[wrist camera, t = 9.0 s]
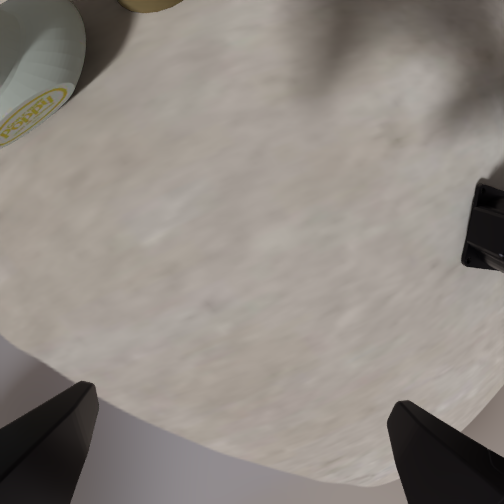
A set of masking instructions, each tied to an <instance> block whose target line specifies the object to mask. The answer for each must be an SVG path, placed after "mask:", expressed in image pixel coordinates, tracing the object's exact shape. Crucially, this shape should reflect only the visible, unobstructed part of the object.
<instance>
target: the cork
mask: <svg viewBox="0 0 504 504" xmlns="http://www.w3.org/2000/svg"><path fill="white" fill-rule="evenodd" d="M117 1H118V2H119V3H120V5H121V6H122V7H124V8H126V9H128V10H130V11H133V12H140V13H150V12H158V11H161V10H164V9H167V8H170V7H173V6H174V5H176V4H178V3H180V2H181V1H183V0H117Z"/></svg>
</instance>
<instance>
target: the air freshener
mask: <svg viewBox="0 0 504 504" xmlns="http://www.w3.org/2000/svg"><path fill="white" fill-rule="evenodd" d="M85 51H86V34H85V28H84V23H83V21H82V18H81V16H80V13H79V12H78V10H77V9H76V7H75V6H74V5H73V3H71V2H70V1H69V0H7V1H6V2H4V3H2V4H0V149H1V148H3V147H5V146H7V145H9V144H11V143H13V142H14V141H16V140H18V139H19V138H21V137H22V136H24V135H25V134H27V133H29V132H30V131H31V130H33V129H34V128H36V127H37V126H38V125H40V124H41V123H42V122H44V121H45V120H46V119H47V118H49V117H50V116H51V115H52V114H53V113H54V112H56V111H57V110H58V109H59V108H60V107H61V106H62V105H63V104H64V103H65V102H66V101H67V100H68V99H69V97H70V96H71V95H72V93H73V91H74V90H75V87H76V85H77V82H78V80H79V77H80V74H81V71H82V67H83V64H84V58H85Z"/></svg>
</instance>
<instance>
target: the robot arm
mask: <svg viewBox="0 0 504 504" xmlns="http://www.w3.org/2000/svg"><path fill="white" fill-rule="evenodd" d="M481 189H482V193H481ZM467 258H468V260H467ZM466 260H467V262H466ZM461 262H462V264H463V265H464V266H466V267H473V268H481V269H489V270H497V271H501V272H502V273H504V191H501V190H498V189H496V188H493V187H490V186H487V185H484V184H478V185H477V187H476V192H475V198H474V204H473V209H472V214H471V219H470V224H469V229H468V234H467V238H466V242H465V247H464V251H463V255H462V259H461ZM98 411H99V402H98V398H97V393H96V388H95V385H94V384H93V383H90V382H86V381H80V382H78V383H76V384H74V385H73V386H71V387H70V388H68V389H66V390H65V391H63V392H61V393H60V394H58V395H56V396H55V397H53V398H51V399H50V400H48V401H46V402H45V403H43V404H42V405H40V406H38V407H36V408H35V409H33V410H31V411H29V412H28V413H26V414H25V415H23V416H21V417H19V418H18V419H16V420H14V421H13V422H11V423H9V424H7V425H6V426H4V427H2V428H1V429H0V504H70V502H71V499H72V497H73V494H74V491H75V488H76V485H77V482H78V479H79V476H80V474H81V471H82V468H83V465H84V463H85V460H86V457H87V454H88V451H89V447H90V442H91V439H92V434H93V430H94V426H95V422H96V418H97V415H98ZM387 428H388V433H389V437H390V441H391V446H392V451H393V455H394V460H395V464H396V467H397V470H398V473H399V476H400V480H401V483H402V486H403V489H404V492H405V495H406V498H407V501H408V504H504V457H502V456H500V455H498V454H496V453H495V452H493V451H491V450H489V449H487V448H486V447H484V446H483V445H481V444H479V443H478V442H476V441H474V440H473V439H471V438H469V437H468V436H466V435H464V434H463V433H461V432H459V431H458V430H456V429H454V428H453V427H451V426H449V425H448V424H446V423H445V422H443V421H441V420H440V419H438V418H436V417H435V416H433V415H432V414H430V413H428V412H427V411H425V410H424V409H422V408H420V407H419V406H417V405H416V404H414V403H413V402H411V401H409V400H405V401H398V402H397V403H396V404H395V405H394V408H393V410H392V412H391V414H390V416H389V418H388V420H387Z"/></svg>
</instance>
